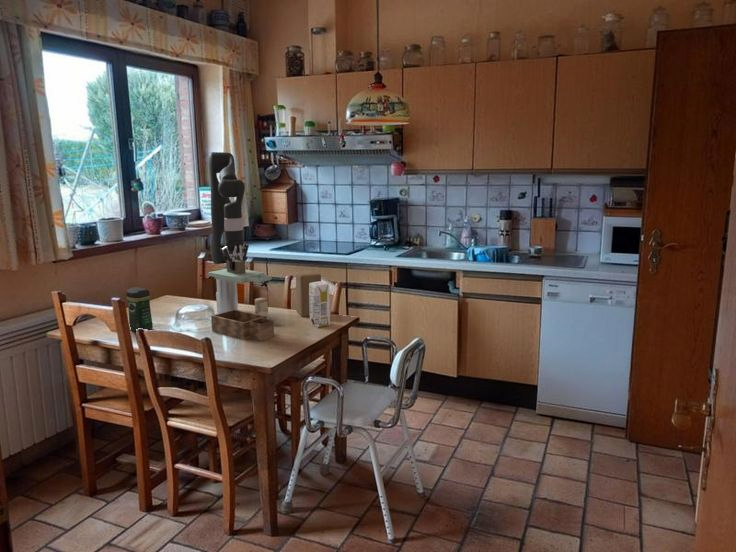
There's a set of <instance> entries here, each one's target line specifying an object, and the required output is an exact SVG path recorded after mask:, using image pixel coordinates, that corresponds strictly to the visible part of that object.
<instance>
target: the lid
mask: <svg viewBox="0 0 736 552" xmlns="http://www.w3.org/2000/svg"><path fill="white" fill-rule="evenodd" d="M226 262H227V269H222V268H221V269H222V270H221V269H219V270H218V269H217V270H214V271H208V273H207V275H208V277H213V279H214V280H215V279H220V280H225V281H231V282H236V283H237V284H245V283H249V282H251V283H252V282H253V283H263V282H268V281H271V280H272V279H273V278H272V277H273V276H272V275H269V274H268V275H267V274H265V272H263V271H257V270H251V269H250V270H249V269H246V260H242V261H240V260H237V259H236V260H234V262H235V271H231V270H230V266H229V261H226Z"/></svg>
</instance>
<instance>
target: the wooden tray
mask: <svg viewBox="0 0 736 552" xmlns="http://www.w3.org/2000/svg"><path fill="white" fill-rule="evenodd" d="M210 318H211V319H210V320H211V332H212V333H216V334H220V335H224V336H227V335H228V337H231V336H232V337H231V338H236V339H240V340H244V341H245V340H248V339H253V340H256V341H261V342H264V341H265V340H269V339H271V338H274V337H275V331H274V329H275V328H274V327H275V325H274V323H275V322H274V320H273V319H269V318H268V319H267V316H264V315H259V314H255V312H254V313H252V312H250V311H246V310H245V311H244V310H240V309H238V310H236V309H233V310H230V311H226V312H223V313H217V314H212V315H211V316H210Z"/></svg>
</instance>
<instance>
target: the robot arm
mask: <svg viewBox="0 0 736 552" xmlns="http://www.w3.org/2000/svg"><path fill="white" fill-rule="evenodd" d="M208 171H209V185H210V213H211V214H210V216H211V217H210V218H211V219H210V220H211V242H210V243H211V244H210V247H211V248H210V249H211V250H210V256H211V261H212V263H213V264H214V265H223V264H225V265H224V267H222V268H220V270H222V269H227V262H226V261H229V266H230V270H231V271H235V262H234V260H240V261H244V259H246V258H247V255H248V250H249V247H250V246H249V244H245V243H244V240H245V238H244V222H243V213H242V212H243V211H242V206H243V205H242V204H243V200H244V196H245V190H246V186H245V185H246V184H245V183H244V181H243V180H241V179H238V178H237V174H236V163H235V157H234V155H233V154H232V153H231V152H226V151H225V152H218V151H214V152H210V153H209V154H208ZM217 174H219V175H217ZM231 198H235V200H234V201H231ZM223 233H224V240H225V242H226V243H222V237H223ZM215 297H216V312H217V314H219V313H223V312H226V311H230V310H233V309H236V310H239V303H238V302H239V301H238V283H236V282H231V281H225V280H220V279H216V293H215Z"/></svg>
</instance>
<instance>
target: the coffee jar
mask: <svg viewBox="0 0 736 552" xmlns="http://www.w3.org/2000/svg"><path fill="white" fill-rule="evenodd" d="M126 300H127V306H128V325H129V324H130V327H131V330H130V331H133V332H136V331H135V330H136V329H138V328H143V329H150V330H152V329H153V327H154V325H153V320H152V319H153V318H152V312H151V311H152V310H151V304H150V302H151V301H150V300H151V294H150V290H149V289H148V288H143V287H137V286H134V287H130V288H128V289H127V290H126Z"/></svg>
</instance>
